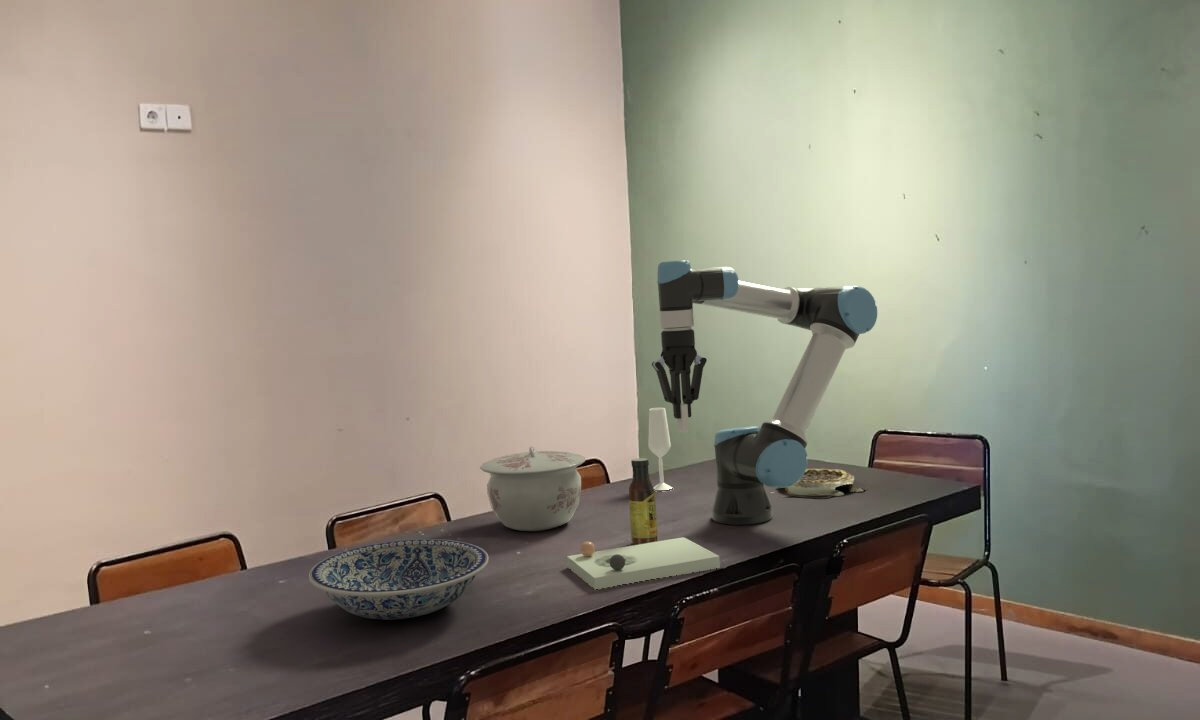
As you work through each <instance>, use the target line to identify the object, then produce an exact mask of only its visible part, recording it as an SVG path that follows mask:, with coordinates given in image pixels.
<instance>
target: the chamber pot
mask: <svg viewBox="0 0 1200 720" xmlns="http://www.w3.org/2000/svg"><path fill="white" fill-rule="evenodd" d="M585 462H586V457H584V456H583V455H581V454H577V453H573V452H569V451H555V450H554V451H553V450H539V451H536V450H535V447H534V446H530V447H529V451H527V452H526V451H525V452H517V453H512V454H507V455H502V456H500V457H496V458H492V459H490V460H488V461H485V462H484V463H482V464H481V465H480V467H479V469H480V470H482V472H484V473H488V474H489V475H490V478H489V479H488V482H487V485H486V491H487V497H488V501H489V503H490V508H491V510H492V511H493V513H494V515H496V517H497V519H499V521H500V523H502V525H503V526H505V527H506V528H509V529H512V530H516V531H519V532H531V531H532V532H543V531H547V530H552V529H555V528H559V527H560V526H562V525H565V524H566V523H568V522H569V521H570V520H572V518H573V516H574V513H576V510H577V508H578V507H579V504H580V500H581V498H580V497H581V492H582V475H580V472H578V470H577V468H578V466H581V465H582V464H584V463H585ZM558 526H559V527H558Z"/></svg>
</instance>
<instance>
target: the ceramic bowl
mask: <svg viewBox="0 0 1200 720" xmlns="http://www.w3.org/2000/svg"><path fill="white" fill-rule="evenodd" d="M488 564H489V555H488V553H487V552H486V550H484V549H483V548H482V547H479V546H478V545H475V544H471V543H469V542H464V541H459V540H453V539H436V538H435V539H433V538H422V539H421V538H419V539H403V540H402V539H401V540H392V541H385V542H384V541H383V542H379V543H378V542H377V543H372V544H367V545H363V546H359V547H354V548H351V549H348V550H345V551H342V552H341V551H340V552H338V553H335V554H333V555H330V556H328V557H326V558H324V559H323V560H321V561H319V562H317V563H316V564H315V565H314V566H313V567H311V569H310V570H309V574H308V580H309V583H311V585H313V586H314V587H315V588H317V589H319V590H321V591H324V592H325V594H326V595H327V596H328V597H329V598H330V600H331V601H333V602H334V603H335V604H336V605H337V606H338V607H340V608H341V609H343V610H345V611H346V612H349V613H350V614H352V615H355V616H358V617H362V618H366V619H372V620H373V619H374V620H386V621H387V620H388V621H390V620H405V619H410V618H416V617H420V616H426V615H428V614H431V613H435V612H437V611H439V610H442V609H444V608H446V607H447V606H448V605H451V604H452V603H454V602H455V601H456V600H457V599H458V598H460V597H461V595H463V594H464V593H465V592H466V591H467V590H468V588H469V587H470V585H472V583H473V581H474V579H475V576H476V575H478V574H479V573H481V572H482V571H483V570H484V569H485V568H487V566H488Z"/></svg>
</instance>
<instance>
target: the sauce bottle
mask: <svg viewBox="0 0 1200 720" xmlns="http://www.w3.org/2000/svg"><path fill="white" fill-rule="evenodd" d="M649 462H650V461H649V459H648V458H646V457H645V458H644V457H641V458H640V457H639V458H632V459H631V467H632V481H631V483H630V485H629V487H628V494H629V496H628V497H629V498H628V503H629V505H628V506H629V522H630V534H631V535H630V536H631V543H632V545H639V544H645V543H651V542H657V541H658V517H657V516H658V515H657V503H656V499H657V497H656V491H655V490H654V486H653V484H652V481H651V479H650V473H649V465H650V463H649Z"/></svg>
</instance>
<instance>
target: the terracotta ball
mask: <svg viewBox="0 0 1200 720" xmlns="http://www.w3.org/2000/svg"><path fill="white" fill-rule="evenodd" d="M594 552H596V547H595V544H594V543H593V542H591V541H587V540H586V541H584V542H582V544H581V545H580V554H583V555H584V556H591V555H593V553H594Z"/></svg>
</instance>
